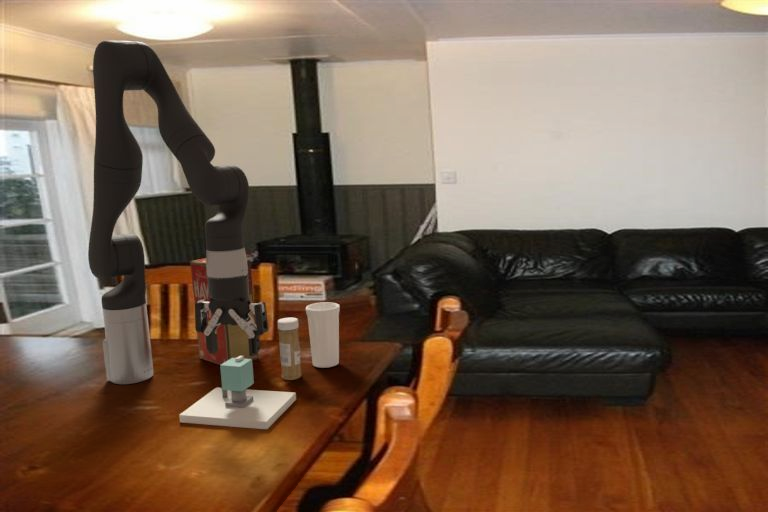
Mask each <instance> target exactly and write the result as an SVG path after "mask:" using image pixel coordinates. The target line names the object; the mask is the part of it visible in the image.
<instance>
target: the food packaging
mask: <svg viewBox="0 0 768 512" xmlns="http://www.w3.org/2000/svg"><path fill="white" fill-rule="evenodd" d="M189 265H190V272H191V283H192V292H193V301H194V303H193V304H195V303H197V302H199V301H201V300H203V299H204V300H206V301H207V302H210V297H209V292H208V280H207V268H206V257H205V258H201V259H200V258H199V259H198V258H197V259H195V260H190V262H189ZM247 266H248V282H249V300H250V302H251V303H254V287H253V277H252V276H253V274H252V262H251V260H250V259H248V258H247ZM249 314H250V316H251V317H252V318H253V320H254V323H255V324H256V318H255V315H254V314H253V311H252V310H250V312H249ZM213 316H214V315H213V314H212V312H211V311H210V309H209V310H208V311H207V325H208V323H209V322H210V320H211V319H212V317H213ZM244 321H245V322H246V320H244ZM215 333H217V342H218V351H217V352H216V353H215V354H210V353H209V351H208V350H207V345H206V336H205V334H204V333H202V332H197V340H198V352H199V359H201V360H205V361H207V362H210V363H212V364H216V365H221V364H223V363H224V362H226V361H228V360H230V359H231V358H237V357H238V356H244V359H252V362H253V361H255V360H257V359H259V352H258V353H257V355H255V356H254V357H253V356H250V355H249V342H248V338H250V337H249V335H248V334H247V333H246V331H245V330H243V329H241V327H240V326H239V325H230V324H227V325H222V324H220V325H219V327H218V328H217V330H216V331H215Z"/></svg>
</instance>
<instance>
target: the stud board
mask: <svg viewBox="0 0 768 512" xmlns="http://www.w3.org/2000/svg"><path fill="white" fill-rule="evenodd" d="M296 400H297V394H296V392H291V391H276V390H263V389H262V390H261V389H260V390H259V389H248V388H247V389H245V390H244V391H242V392H240V391H231V390H222V387H218V386H217V387H215V388H213V389H212V390H211V391H209V392H208V393H207V394H205V395H204V396H202V397H201V398H200V399H199V400H197V401H196V402H195V403H193V404H192V405H191V406H189V407H188V408H187V409H185V410H184V411H183V412H181V413H179V414H178V415H179V423H184V424H185V423H186V424H197V425H208V426H209V425H210V426H220V427H232V428H233V427H235V428H244V429H245V428H247V429H259V430H268V429H269V428H270V427H271V426H272V425H273V424H274V423H275V422H276V421H277V420H278V419H279V418H280V417H281V416H282V415H283V414H284V413H285V412H286V411H287V410H288V409H289V408H290V407H291V406H292V405H293V403H294V402H295V401H296Z"/></svg>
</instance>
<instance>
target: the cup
mask: <svg viewBox="0 0 768 512" xmlns="http://www.w3.org/2000/svg"><path fill="white" fill-rule="evenodd" d="M340 306H341V305H340V304H338V303H336V302H330V301H329V302H328V301H326V302H325V301H323V302H322V301H321V302H315V303H314V302H313V303H311V304H308V305H306V307H305V313H306V316H307V317H306V318H307V324H308V326H307V327H308V333H309V342H310V353H311V362H312V366H314V367H316V368H321V369H324V368H331V367H332V368H333V367H336V366H337V365H339V362H340V344H339V343H340V336H339V335H340V332H339V331H340V328H339V327H340V322H339V320H340V319H339V318H340V316H339V315H340V311H341V310H340V308H341V307H340Z"/></svg>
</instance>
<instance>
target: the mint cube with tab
mask: <svg viewBox="0 0 768 512" xmlns="http://www.w3.org/2000/svg"><path fill="white" fill-rule="evenodd" d="M253 367H254V366H253V361H252V359H244V356H238V357H237V358H231V359H230V360H228V361H226V362H224V363H223V364H221V365H220V367H219V368H220V377H221V381H220V382H221V388H222V390H231V391H240V392H242V391H244V390H245V389H248V388H249V387H251V386H252V385H253V384H255V381H254V379H255V378H254V368H253Z"/></svg>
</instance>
